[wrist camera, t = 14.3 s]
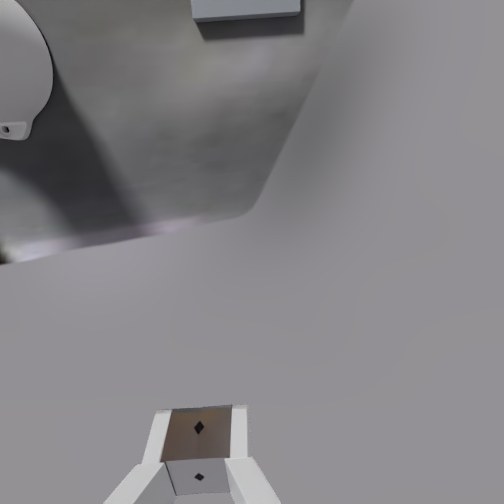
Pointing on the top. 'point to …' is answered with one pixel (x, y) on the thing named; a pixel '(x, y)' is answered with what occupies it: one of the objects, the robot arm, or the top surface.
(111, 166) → the top surface
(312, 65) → the top surface
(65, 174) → the top surface
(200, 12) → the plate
